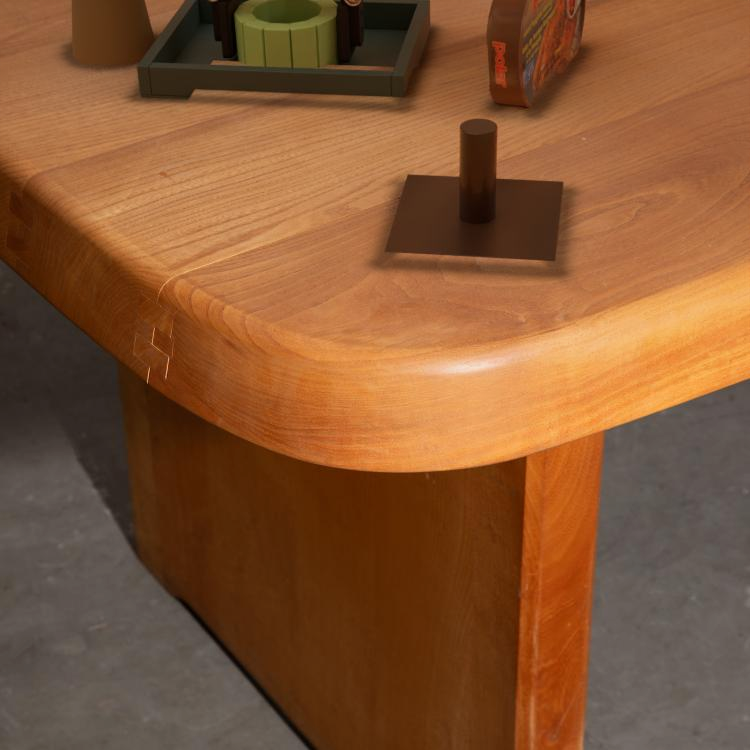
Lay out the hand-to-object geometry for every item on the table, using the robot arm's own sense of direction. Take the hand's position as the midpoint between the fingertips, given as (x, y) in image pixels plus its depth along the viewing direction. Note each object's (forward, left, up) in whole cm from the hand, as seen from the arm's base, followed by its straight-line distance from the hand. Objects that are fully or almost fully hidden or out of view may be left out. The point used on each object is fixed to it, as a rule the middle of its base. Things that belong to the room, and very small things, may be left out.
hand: (290, 51), depth 100 cm
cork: (+13, -1, -1) cm, 13 cm away
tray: (0, 0, -1) cm, 1 cm away
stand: (-15, +22, -1) cm, 27 cm away
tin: (-17, +1, -1) cm, 17 cm away
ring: (0, 0, -1) cm, 1 cm away
